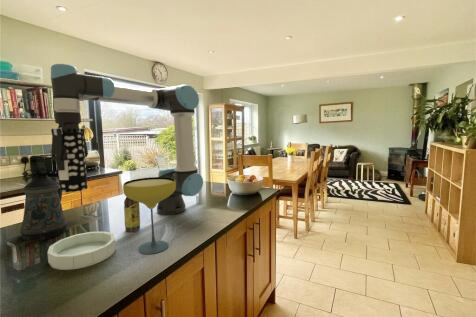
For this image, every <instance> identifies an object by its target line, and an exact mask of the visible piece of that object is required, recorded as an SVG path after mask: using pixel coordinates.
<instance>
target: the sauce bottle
mask: <svg viewBox="0 0 476 317" xmlns="http://www.w3.org/2000/svg"><path fill="white" fill-rule="evenodd" d="M123 205H124V206H123V210H124V214H123V215H124V226H125V232H129V233H131V232H136V231H138V230H140V228H141V216H140V215H141V213H140V210H141V208H140V202H137V201H134V200H131V199H129V198H128V197H127V196H125V199H124V202H123Z"/></svg>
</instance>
